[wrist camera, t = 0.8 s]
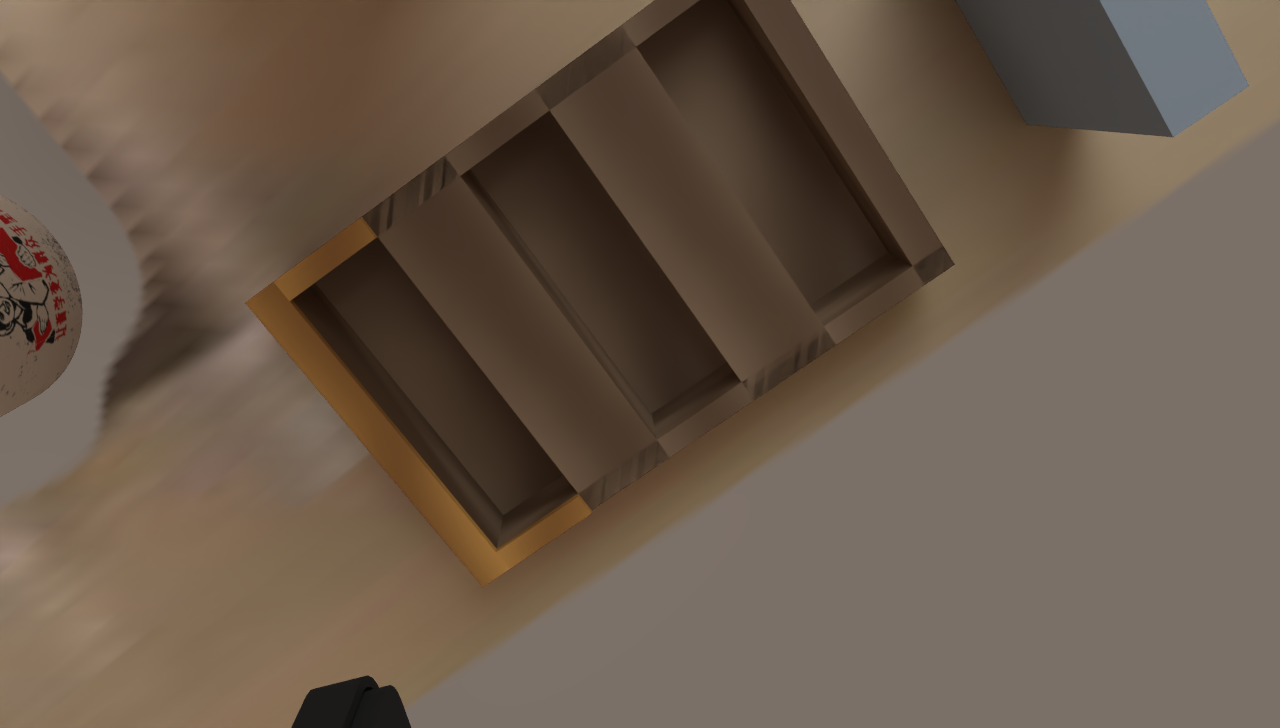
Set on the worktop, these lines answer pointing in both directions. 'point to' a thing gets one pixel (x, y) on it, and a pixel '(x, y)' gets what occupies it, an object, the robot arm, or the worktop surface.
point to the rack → (605, 273)
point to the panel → (1108, 61)
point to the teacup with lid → (33, 307)
